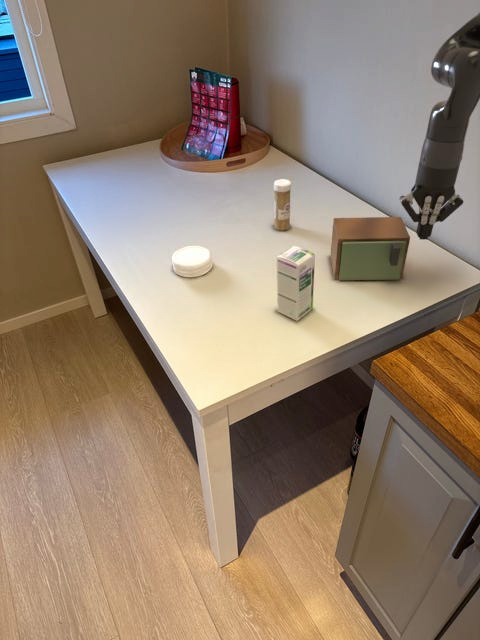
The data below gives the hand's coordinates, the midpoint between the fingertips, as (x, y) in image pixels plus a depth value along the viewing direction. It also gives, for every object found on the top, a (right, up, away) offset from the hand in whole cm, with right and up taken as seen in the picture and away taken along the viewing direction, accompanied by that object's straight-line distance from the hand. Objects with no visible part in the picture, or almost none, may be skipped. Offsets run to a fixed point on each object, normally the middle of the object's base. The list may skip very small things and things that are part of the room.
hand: (422, 237), depth 106 cm
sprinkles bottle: (-28, +8, +32) cm, 43 cm away
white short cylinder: (-52, -5, +18) cm, 55 cm away
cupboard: (-9, -5, +14) cm, 17 cm away
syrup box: (-28, -16, +2) cm, 32 cm away
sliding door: (-9, -9, +8) cm, 15 cm away
